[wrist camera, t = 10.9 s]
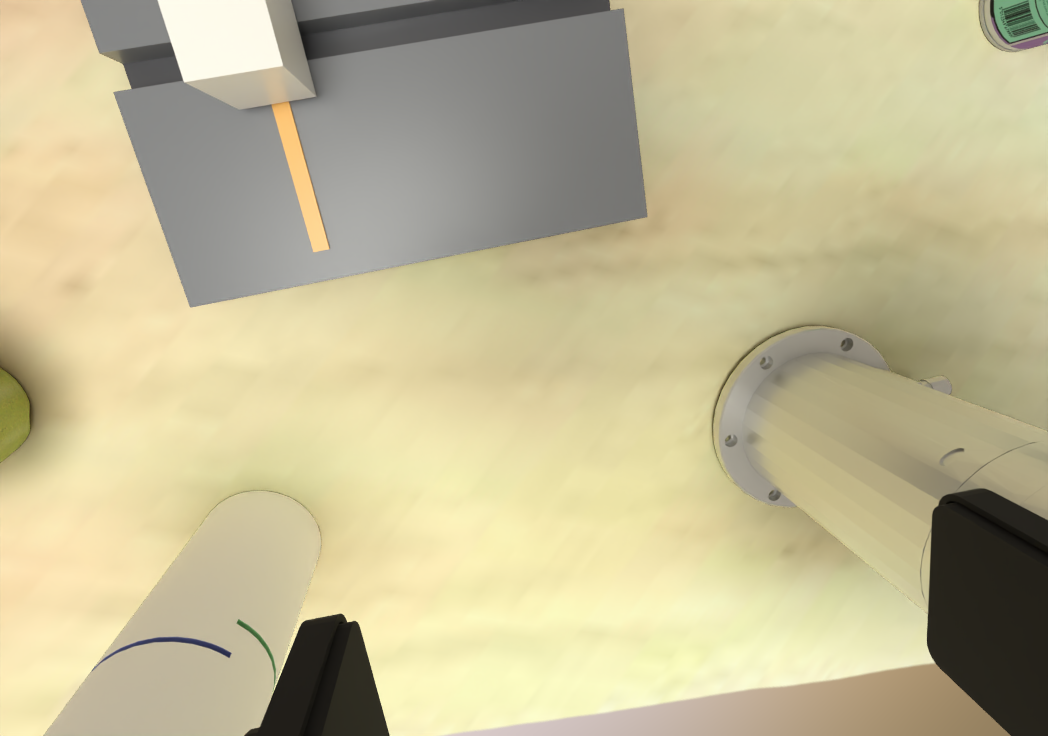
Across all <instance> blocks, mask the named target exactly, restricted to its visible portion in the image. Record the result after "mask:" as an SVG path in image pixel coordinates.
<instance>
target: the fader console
mask: <svg viewBox="0 0 1048 736" xmlns="http://www.w3.org/2000/svg"><path fill="white" fill-rule="evenodd" d="M291 2H292V5H293V9H294V13H295V17H296V21H297V24H298V28H299V32H300V36H301V40H302V43H303V47H304V51H305V55H306V59H307V62H308V66H309V70H310V74H311V78H312V81H313V85H314V89H315V93H316V97H312V98H306V99H300V100H294V101H288V102H282V103H276V104H270V105H265V106H259V107H253V108H247V109H241V110H239V109H237V108H235V107H233V106H231V105H229V104H227V103H225V102H223V101H221V100H219V99H217V98H215V97H213V96H211V95H209V94H207V93H205V92H203V91H201V90H199V89H197V88H195V87H192V86H190V85H188V84H186V83H184V81H183V78H182V75H181V71H180V68H179V65H178V62H177V59H176V56H175V53H174V50H173V47H172V44H171V40H170V37H169V34H168V31H167V28H166V25H165V22H164V19H163V16H162V13H161V9H160V6H159V3H158V0H81V3H82V5H83V8H84V11H85V14H86V17H87V19H88V22H89V25H90V28H91V31H92V33H93V36H94V39H95V42H96V45H97V47H98V50H99V53H100V54H102V55H105V56H107V57H109V58H111V59H113V60H116V61H118V62H120V63H122V64H123V65H124V68H125V71H126V74H127V77H128V80H129V82H130V85H131V88H132V89H130V90H124V91H117V92H114V95H115V98H116V101H117V103H118V106H119V109H120V112H121V115H122V117H123V120H124V123H125V126H126V129H127V131H128V134H129V137H130V140H131V143H132V145H133V148H134V151H135V154H136V157H137V160H138V162H139V165H140V168H141V171H142V174H143V176H144V179H145V182H146V185H147V188H148V190H149V193H150V196H151V199H152V202H153V204H154V207H155V210H156V213H157V216H158V218H159V221H160V224H161V227H162V230H163V232H164V235H165V238H166V241H167V244H168V246H169V249H170V252H171V255H172V258H173V260H174V263H175V266H176V269H177V272H178V274H179V277H180V280H181V283H182V286H183V288H184V291H185V294H186V297H187V300H188V302H189V305H190V307H196V306H201V305H206V304H211V303H216V302H221V301H226V300H231V299H236V298H241V297H246V296H251V295H256V294H261V293H266V292H271V291H276V290H281V289H286V288H291V287H296V286H301V285H307V284H312V283H317V282H322V281H327V280H332V279H337V278H342V277H347V276H352V275H357V274H362V273H367V272H372V271H377V270H382V269H387V268H392V267H397V266H402V265H407V264H413V263H418V262H423V261H428V260H433V259H438V258H443V257H448V256H453V255H458V254H463V253H468V252H473V251H478V250H483V249H488V248H493V247H498V246H503V245H508V244H513V243H519V242H524V241H529V240H534V239H539V238H544V237H549V236H554V235H559V234H564V233H569V232H574V231H579V230H584V229H589V228H594V227H599V226H604V225H609V224H614V223H619V222H625V221H630V220H635V219H640V218H645V217H647V209H646V200H645V191H644V182H643V174H642V165H641V156H640V148H639V139H638V130H637V122H636V113H635V104H634V96H633V87H632V78H631V69H630V61H629V52H628V43H627V35H626V26H625V17H624V9H617V10H611V11H610V4H609V0H291Z"/></svg>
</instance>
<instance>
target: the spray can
mask: <svg viewBox="0 0 1048 736" xmlns="http://www.w3.org/2000/svg"><path fill="white" fill-rule="evenodd" d="M979 16H980V22H981V26H982V29H983V32H984V34H985V36H986V37H987V39H988V40H989V41H990V42H991V43H992V44H993V45H994V46H995V47H997V48H999V49H1001V50H1004V51H1008V52H1013V51H1020V50H1026V49H1029V48H1033V47H1037V46H1041V45H1044V44H1048V0H980V5H979Z"/></svg>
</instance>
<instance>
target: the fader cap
mask: <svg viewBox="0 0 1048 736" xmlns="http://www.w3.org/2000/svg"><path fill="white" fill-rule="evenodd" d="M158 3H159V6H160V9H161V13H162V16H163V19H164V22H165V25H166V28H167V31H168V34H169V37H170V40H171V44H172V47H173V50H174V53H175V56H176V59H177V62H178V65H179V68H180V71H181V75H182V78H183V81H184V83H186V84H188V85H190V86H192V87H195V88H197V89H199V90H201V91H203V92H205V93H207V94H209V95H211V96H213V97H215V98H217V99H219V100H221V101H223V102H225V103H227V104H229V105H231V106H233V107H235V108H237V109H239V110H241V109H247V108H253V107H259V106H265V105H270V104H276V103H282V102H288V101H294V100H300V99H306V98H312V97H316V93H315V89H314V85H313V81H312V78H311V74H310V70H309V66H308V62H307V59H306V55H305V51H304V47H303V43H302V40H301V36H300V32H299V28H298V24H297V21H296V17H295V13H294V9H293V5H292V2H291V0H158Z"/></svg>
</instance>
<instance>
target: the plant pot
mask: <svg viewBox="0 0 1048 736" xmlns="http://www.w3.org/2000/svg"><path fill="white" fill-rule="evenodd" d="M29 410H30V403H29V400H28V397H27V395H26V393H25V391H24V390H23V388H22V387H21V386H20V384H19V383H18V382H17V381H16V380H15V379H14V378H13V377H12V376H11V375H10V374H8V373H7V372H6V371H4V370H3V369H1V368H0V463H1V462H2V461H3V460H4V459H6V458H7V457H8V456H9V455H10V454H12V453H13V452H14V451H15V450H17V449H18V448H19V447H20V446H21V445H22V444H23V442H24V441H25V440H26V438H27V436H28V434H29V432H30V419H29Z"/></svg>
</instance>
